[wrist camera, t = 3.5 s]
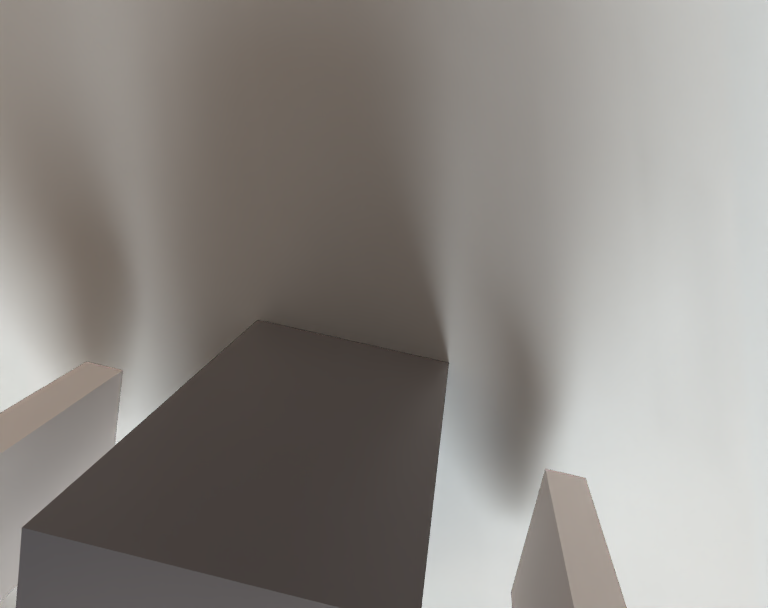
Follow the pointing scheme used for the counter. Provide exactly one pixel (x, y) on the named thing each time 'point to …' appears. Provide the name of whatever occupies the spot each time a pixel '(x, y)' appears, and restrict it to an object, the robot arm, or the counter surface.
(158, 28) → the counter surface
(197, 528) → the plug
